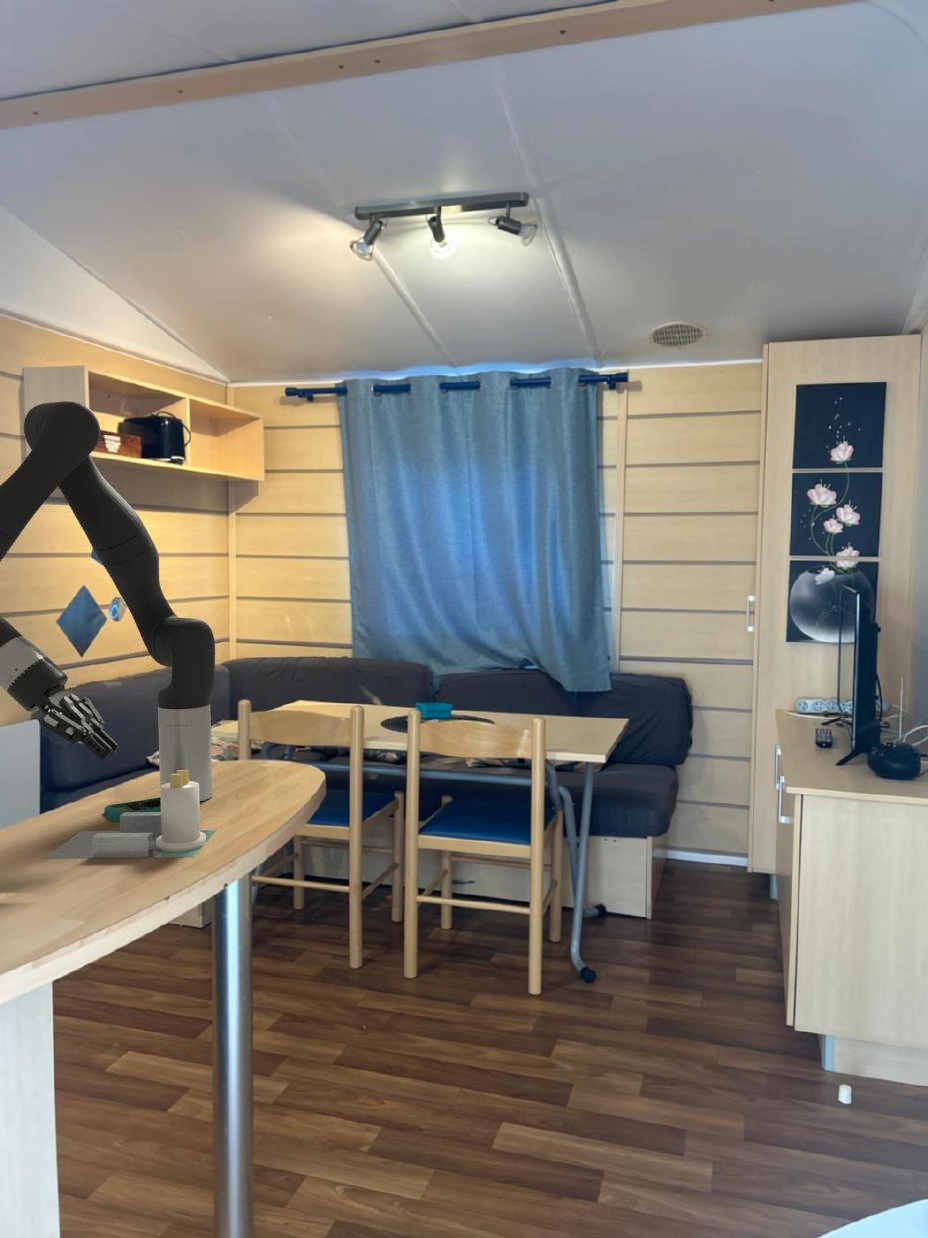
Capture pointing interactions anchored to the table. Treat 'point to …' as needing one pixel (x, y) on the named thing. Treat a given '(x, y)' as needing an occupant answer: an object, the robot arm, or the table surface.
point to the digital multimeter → (132, 808)
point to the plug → (180, 815)
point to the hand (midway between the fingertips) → (110, 753)
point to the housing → (123, 840)
